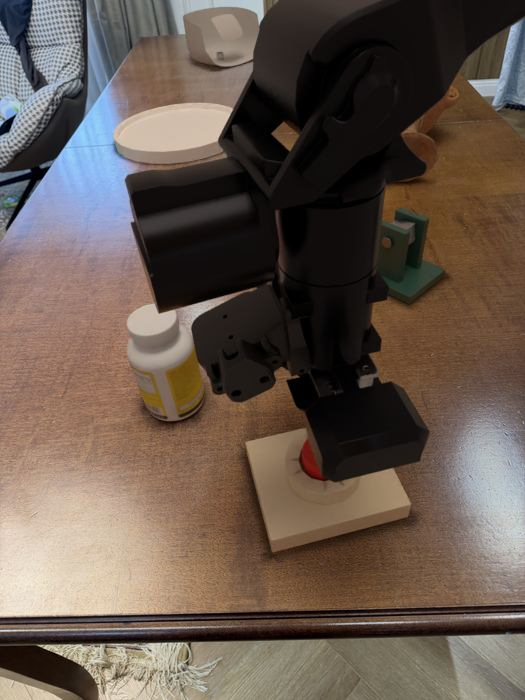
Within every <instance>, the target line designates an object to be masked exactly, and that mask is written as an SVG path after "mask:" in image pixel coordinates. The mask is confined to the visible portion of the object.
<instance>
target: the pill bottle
mask: <svg viewBox="0 0 525 700" xmlns="http://www.w3.org/2000/svg"><path fill="white" fill-rule="evenodd" d="M126 329H127V331H128V334H129V337H130V338H129V340H128V342H127V345H126V356H127V360H128V363H129V365H130V368H131V371H132V373H133V376H134V379H135V382H136V384H137V386H138V389H139V392H140V394H141V397H142V399H143V403H144V406H145V407H146V410H147V411H148V412H149V414H150V415H152V416H153V418H156V419H158V420H160V421H165V422H175V421H176V422H177V421H181V420H184V419H186V418H188V417H190V416H192V415H193V414H195V413H196V412H197V411H198V410H199V409H200V408H201V407H202V405H203V403H204V400H205V396H206V395H205V394H206V391H205V385H204V381H203V377H202V373H201V368H200V364H199V363H198V361H197V356H196V351H195V346H194V341H193V336H192V333H191V332H190V331H189V330H188V328H186V327H185V326H184V325H182V324H180V321H179V317H178V314H177V311H176V309H175V310H172V311H168V312H164V313H161V314H158V311H157V309H156V306H155V303H149V304H146V305H142V306H140V307H138V308H137V309H135V310H134V311H133V312H132V313H130V315H128V318H127V320H126Z"/></svg>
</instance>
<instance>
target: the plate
mask: <svg viewBox="0 0 525 700" xmlns="http://www.w3.org/2000/svg"><path fill="white" fill-rule="evenodd" d="M233 108H234V107H233ZM233 108H232V107H230V106H227V105H224V104H220V103H219V104H218V103H212V102H211V103H209V102H185V103H174V104H169V105H163V106H159V107H155V108H151V109H147V110H143V111H141V112H139V113H136V114H133V115H131V116H130V117H128V118H126V119H125V120H123V121H121V122H120V123H119V124H118V125H116V127H115V128H114V131H113V133H112V136H113V141H114V145H115V147H116V150H117V153H118V154H120V155H121V156H122V157H123V158H125V159H128V160H131V161H133V162H136V163H137V162H138V163H143V164H149V165H171V164H182V163H183V164H184V163H188V162H189V163H190V162H193V161H198V160H203V159H207V158H210V157H212V156H215V155H218V154H221V153H223V152H224V151H223V150H222V148H221V147H220V146H219V143H218V138H219V136H220V134H221V132H222V130H223V128H224V126H225V124H226V122H227V120H228V118H229V116H230V114H231V112H232V110H233Z"/></svg>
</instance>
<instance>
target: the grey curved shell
mask: <svg viewBox="0 0 525 700" xmlns="http://www.w3.org/2000/svg"><path fill="white" fill-rule="evenodd" d="M182 22H183V28H184V35H185V40H186V45H187V49H188V52H189V55H190V57H192V59H193V60H195V61H197V62H198V63H201V64H205V65H210V66H217V67H234V66H240V65H242V64H245V63H248V62H250V61H253V51H254V47H255V44H256V40H257V37H258V33H259V25H260V23H259V22H260V21H259V16H258V13H256V12H255V11H253V10H251V9H248V8H244V7H239V6H215V7H208V8H202V9H198V10H193V11H190V12H188V13H185V14H184V15H183V16H182Z"/></svg>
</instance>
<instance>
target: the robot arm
mask: <svg viewBox="0 0 525 700" xmlns="http://www.w3.org/2000/svg"><path fill="white" fill-rule="evenodd" d="M524 19H525V0H278V1H276V2H275V3H274V4H273V5H272V6H271V7H269V9H268V10H267V11H266V13H265V15H264V16H263V17H262V19H261V20H260V21H259V22H260V23H259V33H258V37H257V40H256V44H255V47H254V51H253V59H252V71H251V73H250V75H249V77H248V79H247V81H246V83H245V84H244V87H243V89H242V90H241V92H240V95H239V97H238V99H237V100H236V103H235V104H234V107H233V110H232V112H231V114H230V116H229V118H228V120H227V122H226V124H225V126H224V128H223V130H222V132H221V134H220V136H219V138H218V143H219V146H220V147H221V148H222V150H223V152H224V154H225V155H226V157H224V158H218V159H214V160H210V161H205V162H200V163H195V164H191V165H186V166H182V167H177V168H173V169H148V170H143V171H138V172H133V173H129V174H127V175H126V176H125V178H124V183H125V187H126V191H127V194H128V198H129V207H130V212H131V216H132V218H133V221H131V222H130V226H131V230H132V234H133V237H134V241H135V245H136V247H137V251H138V255H139V258H140V261H141V265H142V268H143V271H144V274H145V277H146V282H147V284H148V287H149V290H150V294H151V297H152V300H153V304H155V306H156V309H157V311H158V314H161V313H164V312H168V311H172V310H175V311H176V310H178V309H179V310H180V309H183V308H187V307H189V306H190V307H191V306H193V305H197V304H201V303H205V302H208V301H212V300H215V299H218V298H222V297H226V296H230V295H234V294H237V293H240V292H241V293H240V294H237V295H235V296H234V297H232V298H230V299H228V300H225V301H223V302H222V303H220V304H218V305H216V306H214V307H211V308H210V309H208V310H206V311H204V312H202V313H200V314H199V315H198V316H197V317H196V318H195V319H194V320H193V322H192V323H191V326H190V330H191V336H192V338H193V342H194V347H195V351H196V356H197V361H198V363H199V366H201V367H202V369H203V370H204V371H205V373H206V376H207V378H208V379H209V384H210V387H211V391H212V394H214V395H216V396H222V395H224V394H225V395H226V396H227V398H228V399H229V400H230V401H231V402H233V403H246V402H247V401H249V400H251V399H253V398H255V397H257V396H259V395H261V394H263V393H266V392H267V391H269V390H272V389H273V388H274V386H275V385H276V383H277V378H276V374H275V372H276V371H277V370H279V369H281V368H283V369H285V370H286V371H288V373H289V375H290V377H293V378H289V379H286V380H285V382H286V385H287V387H288V389H289V392H290V395H291V398H292V400H293V403H294V405H295V407H296V408H297V409H298V410H299V411H301V412H303V415H304V426H305V427H304V428H306V431H307V436H308V440H309V443H310V446H311V449H312V451H313V454H314V457H315V459H316V462H317V465H318V467H319V470H320V473H321V475H322V477H324V478H326V479H328V480H330V481H332V482H334V483H335V482H339V481H343V480H347V479H351V478H355V477H359V476H363V475H367V474H371V473H375V472H379V471H383V470H387V469H391V468H395V469H396V468H399V467H404V466H407V465H411V464H415V463H420V462H421V460H422V458H423V456H424V454H425V452H426V447H427V444H428V440H429V437H430V433H431V431H430V430H429V428H428V426H427V424H426V423H425V421H424V420H423V417H422V416H421V415H420V413H419V411H418V409H417V408H416V406H415V404H414V403H413V401H412V400H411V398H410V396H409V394H408V393H407V391H406V389H405V388H404V387H402V386H401V385H398V384H397V383H395V382H394V381H391V380H390V381H386V382H382V381H381V379H380V378H379V375H380V370H379V368H378V366H377V364H376V363H375V361H374V359H373V358H372V356H371V354H374V353H379V352H381V350H382V341H383V339H382V337H381V336H380V334H379V332H378V331H377V329H376V328H375V325H374V324H373V323H372V317H373V308H374V304H375V303H379V302H385V301H388V296H389V294H388V289H389V286H388V284H387V283H386V281H385V280H384V279H383V277H382V276H381V274H380V273H379V272H378V270H377V262H378V253H379V243H380V234H381V225H382V220H383V216H384V215H383V214H384V204H385V196H386V195H385V194H386V187H387V186H388V185H390V184H395V183H400V182H399V181H402V182H404V181H403V180H407V179H411V178H415V177H419V176H422V175H423V174H424V173H425V172H426V170H427V164H426V162H425V161H423V160H422V159H420V158H419V157H418V156H417V155H416V154H415V153H414V152H413V151H412V150H411V149H410V148H409V147H408V146H407V144H406V143H405V141H404V139H403V137H402V135H401V134H402V133H403V132H404V131H405V130H406V129H408V128H409V127H410V126H411V125H412V124H414V123H415V122H416V121H417V120H418V119H420V118H421V117H422V116H423V115H424V114H426V113H427V112H428V111H429V110H430V109H432V108H433V107H434V106H435V105H436V104H438V103H439V102H440V101H441V100H442V98H443V97H444V96H445V94H446V93H447V91H448V89H449V88H450V86H451V85H452V84H453V82H454V81H455V79H456V78H457V75H458V74H459V72H460V70H461V69H462V67H463V65H464V64H465V61H467V60H468V59H469V58H470V57H471V56H472V55H473V54H475V53H476V52H477V51H478V50H479V49H481V48H482V47H483V46H485V44H486V43H488V42H489V41H490V40H492V39H494V38H496V37H497V36H498V35H500V34H502V33H503V32H505V31H507V30H508V29H510V28H511V27H513V26H515V25H516V24H518V23H519V22H521V21H523V20H524ZM283 123H285V124H286V125H287V126H288V127H289V128H290V129H291V130H292V131H294V132H295V133H296V134H297V135H298V137H297V138H296V141H295V142H294V144H293V145H292V147H291V148H290V149H288V148H287V147H286V146H285V145H284V144H283V143H282V142H281V141H280V140H278V139H277V137H276V136H275V135H273V133H274V132H275V131H277V129H278V128H279V127H280V126H281V125H282V124H283ZM422 177H423V176H422ZM251 289H253V290H252V291H248V290H251ZM296 376H297V377H296Z"/></svg>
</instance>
